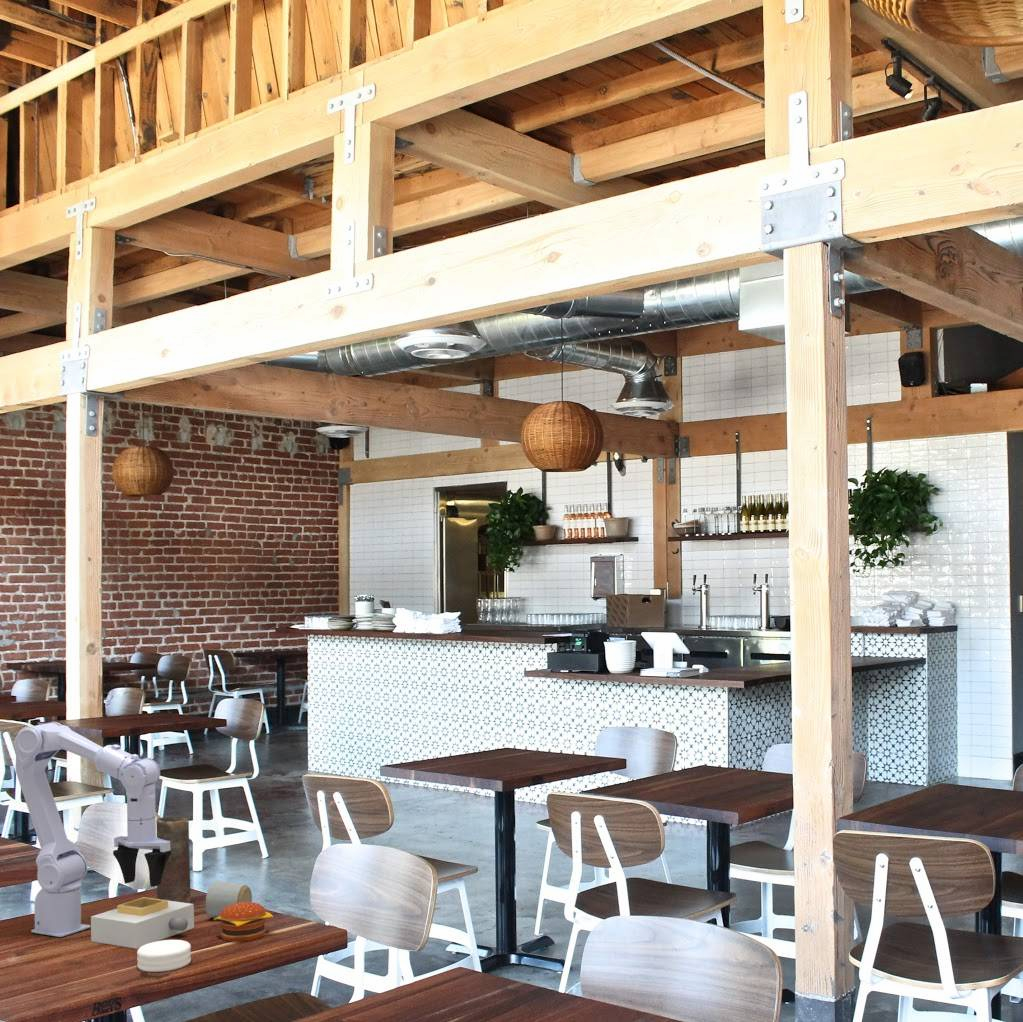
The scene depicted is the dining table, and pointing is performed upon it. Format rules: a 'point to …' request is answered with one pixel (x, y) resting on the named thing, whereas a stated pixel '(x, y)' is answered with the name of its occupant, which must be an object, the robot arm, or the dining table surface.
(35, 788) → the robot arm
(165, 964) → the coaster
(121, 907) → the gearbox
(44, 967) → the dining table surface
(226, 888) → the ceramic mug
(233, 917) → the hamburger
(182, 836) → the brown paper bag
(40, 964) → the dining table surface
